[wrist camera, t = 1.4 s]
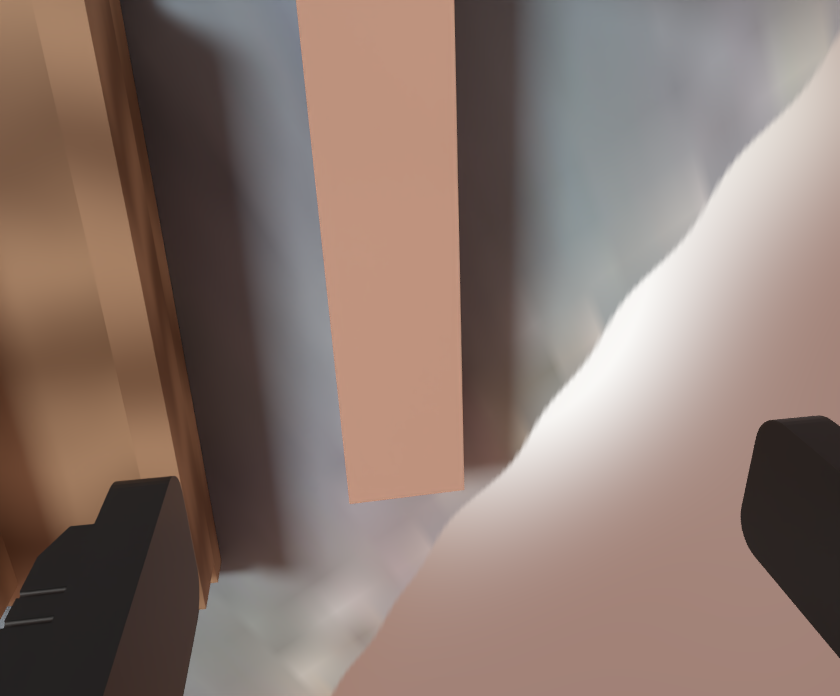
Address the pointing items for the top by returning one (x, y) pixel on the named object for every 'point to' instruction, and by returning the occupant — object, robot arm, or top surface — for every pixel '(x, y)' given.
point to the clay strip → (389, 235)
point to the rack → (83, 292)
